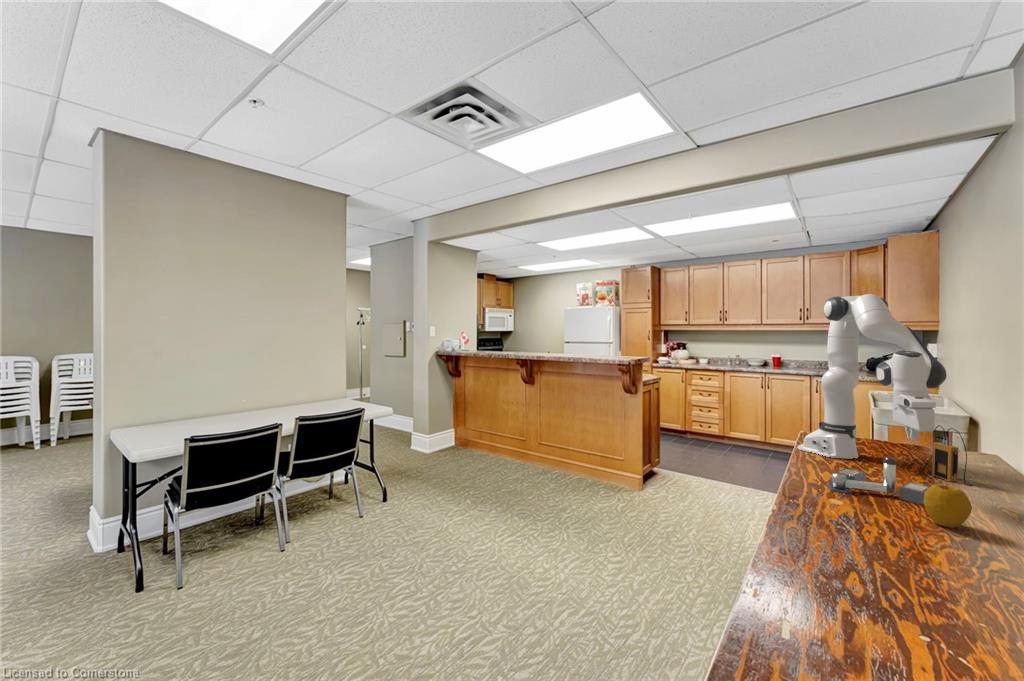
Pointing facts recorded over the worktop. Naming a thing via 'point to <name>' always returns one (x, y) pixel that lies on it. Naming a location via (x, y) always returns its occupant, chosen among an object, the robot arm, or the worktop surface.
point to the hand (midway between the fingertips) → (912, 440)
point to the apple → (947, 505)
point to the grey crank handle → (887, 485)
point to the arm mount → (838, 489)
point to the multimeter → (946, 460)
